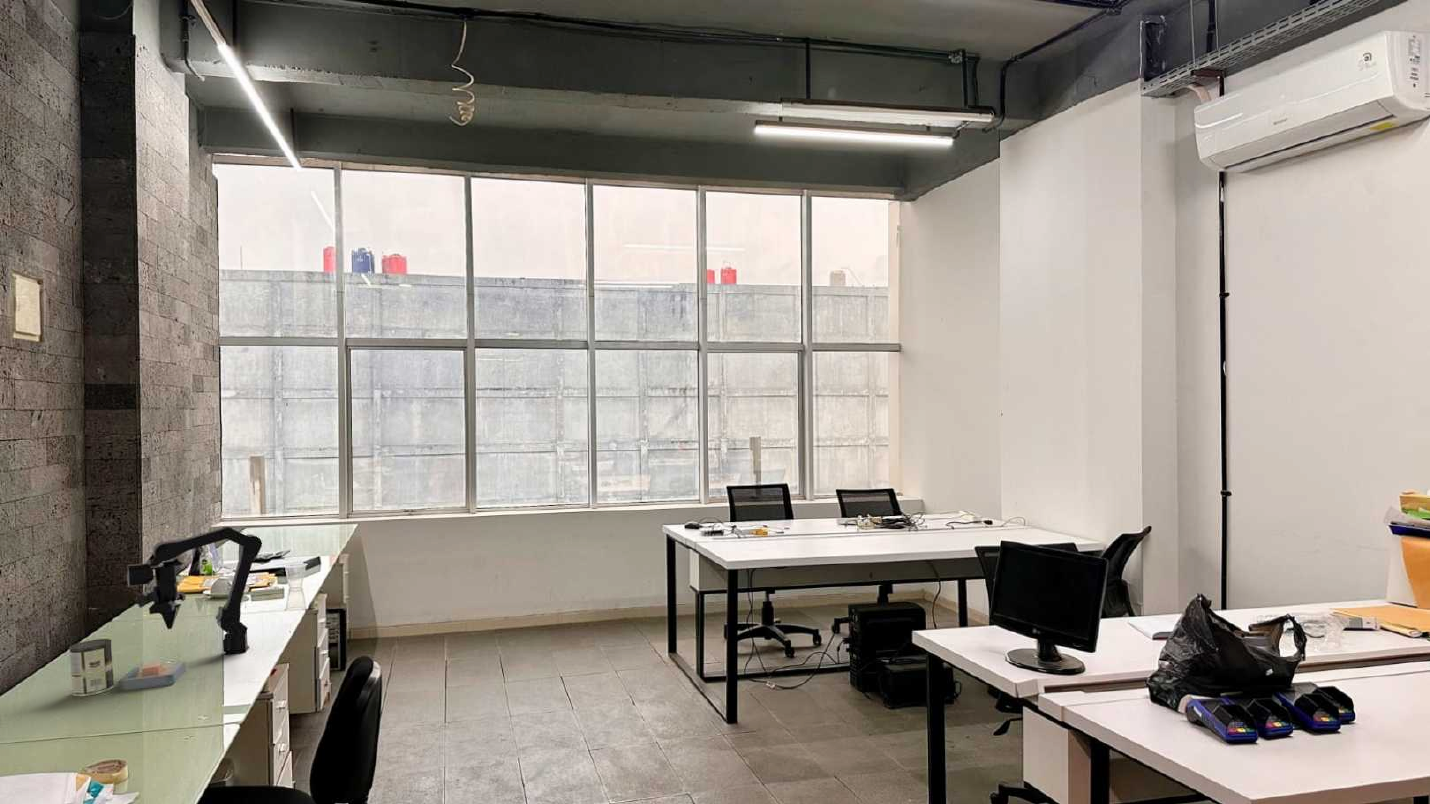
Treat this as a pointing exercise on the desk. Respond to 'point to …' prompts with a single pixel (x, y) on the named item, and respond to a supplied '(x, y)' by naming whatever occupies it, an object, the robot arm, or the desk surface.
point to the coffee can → (91, 667)
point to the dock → (150, 678)
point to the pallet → (162, 673)
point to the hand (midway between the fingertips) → (169, 628)
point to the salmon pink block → (152, 669)
